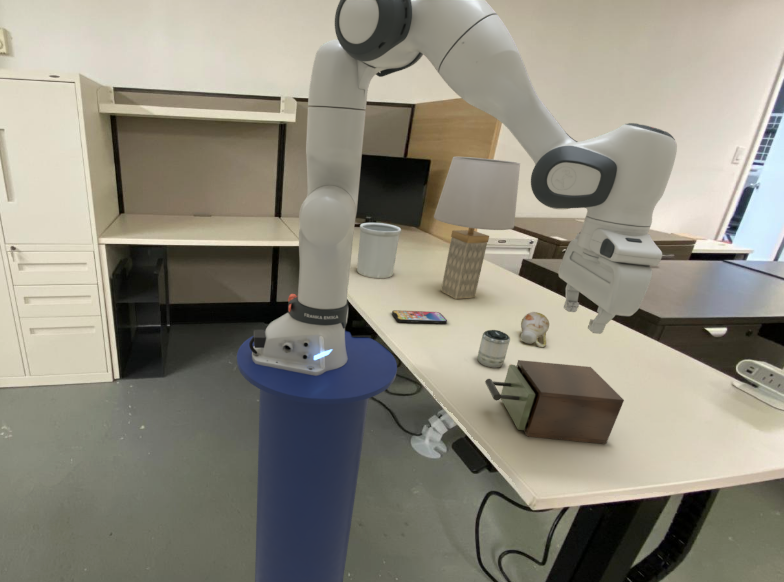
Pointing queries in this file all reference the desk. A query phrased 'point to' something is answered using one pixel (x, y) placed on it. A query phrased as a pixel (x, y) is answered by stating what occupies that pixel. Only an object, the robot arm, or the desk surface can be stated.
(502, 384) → the drawer
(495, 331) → the camera lens
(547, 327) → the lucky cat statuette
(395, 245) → the utensil holder
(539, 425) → the cabinet
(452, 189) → the lamp
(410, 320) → the smartphone
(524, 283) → the desk surface
